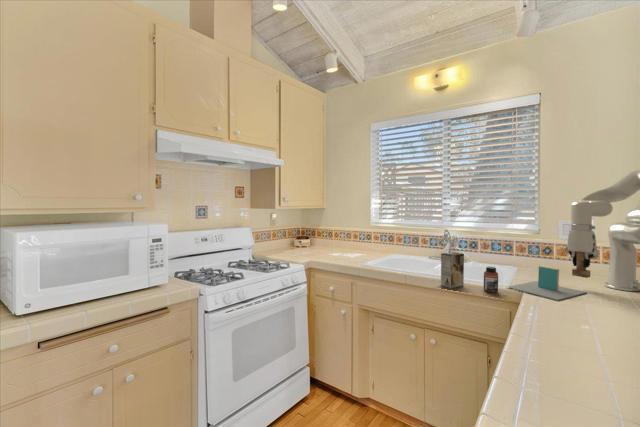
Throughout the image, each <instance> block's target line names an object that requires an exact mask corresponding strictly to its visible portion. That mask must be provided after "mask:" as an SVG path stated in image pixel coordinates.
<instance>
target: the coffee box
mask: <svg viewBox="0 0 640 427" xmlns="http://www.w3.org/2000/svg"><path fill="white" fill-rule="evenodd" d="M464 266H465V254H464V253H460V252H456V251H452V252H444V253H440V286H443V287H446V288H448V289H449V288H450V289H453V288H459V287H463V286H464V283H465V282H464V281H465V280H464V277H465V274H464V273H465V272H464V270H465V267H464Z"/></svg>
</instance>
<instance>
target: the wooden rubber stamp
mask: <svg viewBox="0 0 640 427" xmlns="http://www.w3.org/2000/svg"><path fill="white" fill-rule="evenodd" d="M584 259H585V253H584V252H579V251H578V252H576V266H575V267H576V268H572V269H571V271H572V272H571V275H572V276H573V277H581V278H586V279H588V278H591V270H589V269H587V268H585V267H584Z"/></svg>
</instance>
